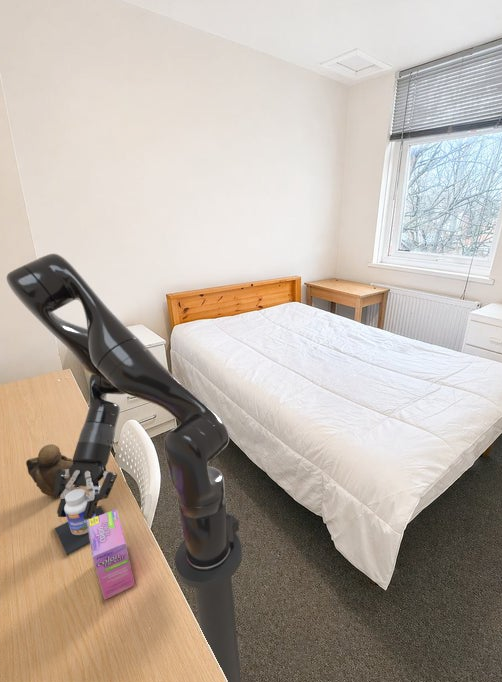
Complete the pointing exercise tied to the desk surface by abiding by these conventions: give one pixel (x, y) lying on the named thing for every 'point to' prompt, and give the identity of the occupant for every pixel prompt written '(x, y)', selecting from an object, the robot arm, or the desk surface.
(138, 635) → the desk surface
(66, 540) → the pad
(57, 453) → the sculpture
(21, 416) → the desk surface
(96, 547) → the box
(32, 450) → the desk surface
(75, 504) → the pill bottle
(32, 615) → the desk surface
